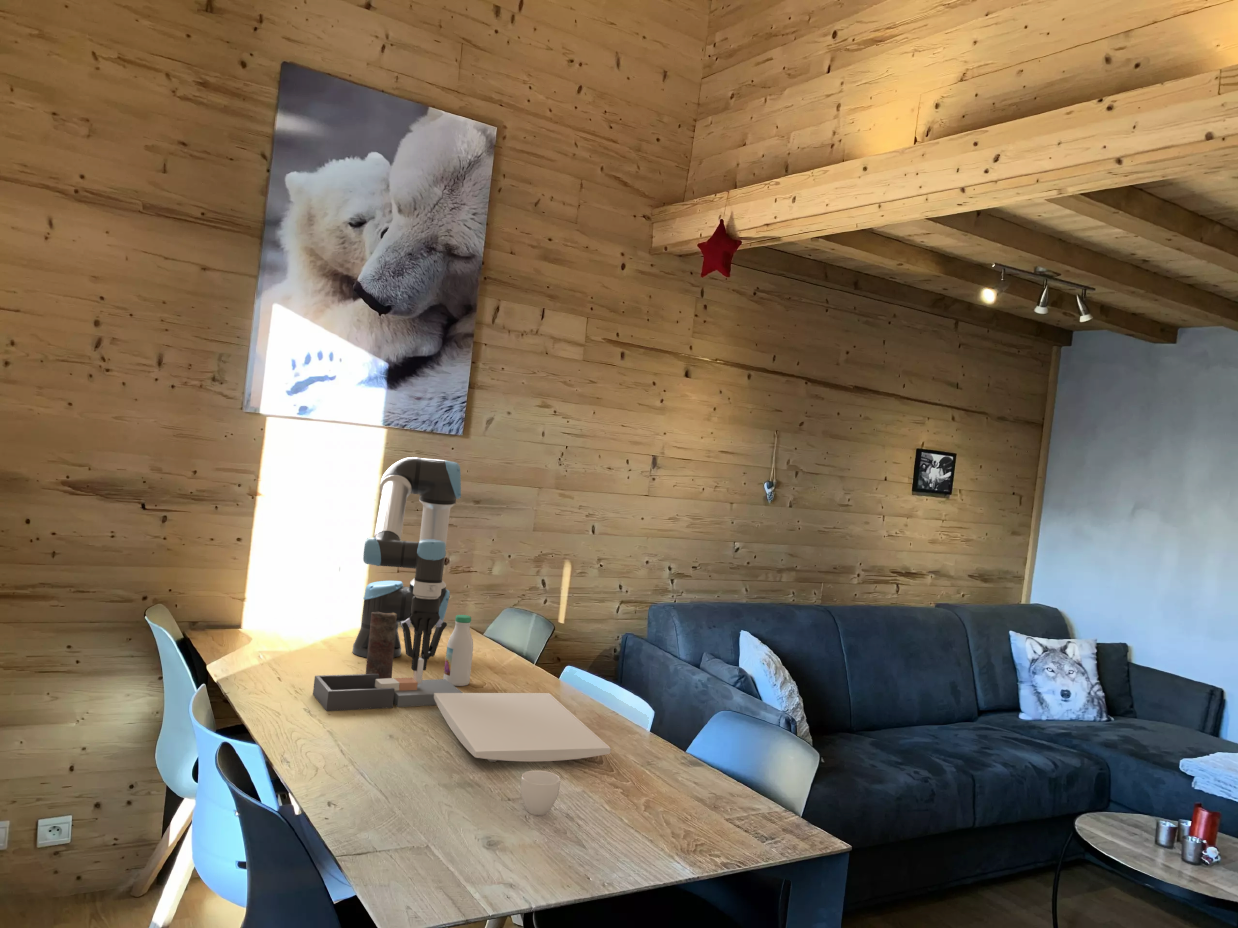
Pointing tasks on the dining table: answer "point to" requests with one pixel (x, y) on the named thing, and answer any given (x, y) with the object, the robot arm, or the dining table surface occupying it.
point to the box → (351, 692)
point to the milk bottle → (459, 653)
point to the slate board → (423, 693)
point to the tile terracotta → (407, 683)
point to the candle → (381, 644)
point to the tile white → (387, 683)
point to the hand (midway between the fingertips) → (417, 681)
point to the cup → (539, 791)
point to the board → (518, 727)
